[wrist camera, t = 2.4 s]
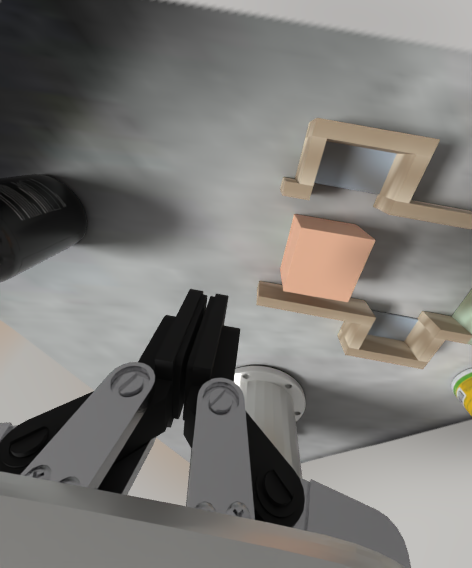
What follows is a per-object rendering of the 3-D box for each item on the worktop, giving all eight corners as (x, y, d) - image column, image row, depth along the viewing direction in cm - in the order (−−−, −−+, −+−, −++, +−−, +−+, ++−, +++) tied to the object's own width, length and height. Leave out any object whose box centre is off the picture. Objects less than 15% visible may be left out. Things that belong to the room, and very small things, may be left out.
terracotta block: (334, 277, 24) (348, 302, 21) (280, 268, 25) (283, 291, 21) (355, 224, 22) (375, 240, 18) (294, 213, 22) (301, 227, 18)
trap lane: (434, 353, 27) (452, 374, 25) (250, 319, 28) (248, 336, 25) (575, 169, 18) (627, 172, 16) (296, 119, 18) (301, 115, 16)
